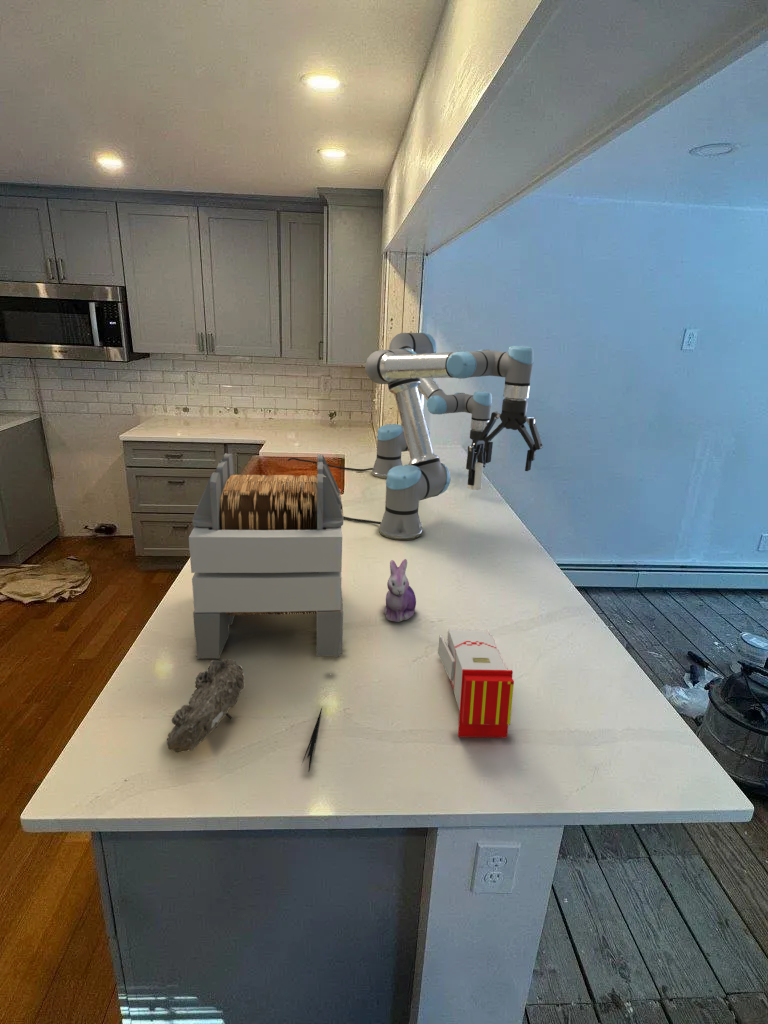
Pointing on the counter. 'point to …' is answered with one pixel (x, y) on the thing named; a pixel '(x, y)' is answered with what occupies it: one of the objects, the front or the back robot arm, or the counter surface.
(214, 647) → the transformer
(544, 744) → the counter surface
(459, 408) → the back robot arm
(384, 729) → the counter surface
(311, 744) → the feather
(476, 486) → the canister
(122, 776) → the counter surface
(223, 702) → the fossil
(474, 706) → the toy
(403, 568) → the figurine
